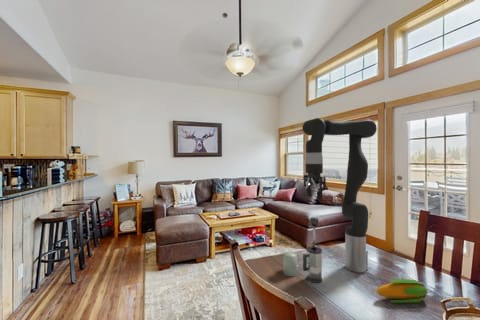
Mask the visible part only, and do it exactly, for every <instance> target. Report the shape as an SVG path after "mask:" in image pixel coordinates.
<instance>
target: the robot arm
mask: <svg viewBox="0 0 480 320" xmlns="http://www.w3.org/2000/svg"><path fill="white" fill-rule="evenodd" d="M301 128H302V131H303V133H304V134H305V135H307V136H311V137H310V139H308V140H307V141H306V142H305V158H304V159H305V167H304V169H305V173H306V174H303V187H305V190H306V197H307V198H311V197H312V195H313V194H312V193H313V191H312V188H313V187H314V188H315V189H316V200H318V201H322V200H323V192H324V191H326V190H327V184H326V180H327V178H326V176H321V174H323V172H324V171H323V170H324V169H323V167H324V166H323V165H324V163H323V161H324V159H323V158H324V157H323V142H324V139H325V136H344V135H346V136H347V135H348V140H349V141H348V162H347V170H346V182H345V190H344V196H343V199H342V205H341V214H342V216H343V217H344V218H346V219H348V220H351V221H352V224H351V225H349V226H346V227H345V230H344V233H345V238H344V239H345V241H344V242H345V249H344V250H345V254H344V255H345V256H344V257H345V260H344V261H345V263H344V264H345V265H344V266H345V268H346V269H347V270H349V271H351V272H354V273H360V274H361V273H365V272H366V271H368V268H369V267H368V265H369V264H368V263H369V261H368V260H369V256H368V254H369V253H368V250H367V232H368V227H369V210H368V207H367V206H366V205H365V204H364V203H361V202H357V197H358V192H359V191H360V189H361V188H362V186H363V185H364V183H365V182H366V180H367V177H368V172H369V170H368V169H369V162H368V159H367V158H366V156H365V155H364V152H363V149H362V139H367V138H371V137H373V136H374V135H376V134H377V124H376V122H375V121H374V120H371V119H369V118H368V119H362V120H361V119H360V120H356V121H354V120H353V121H347V120H333V119H331V120H330V119H327V120H324V119H323V118H320V117H316V118H313V119H308V120H306V121H305V122H304V123H303V124H302V127H301Z"/></svg>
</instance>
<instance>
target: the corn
mask: <svg viewBox="0 0 480 320" xmlns="http://www.w3.org/2000/svg"><path fill="white" fill-rule="evenodd" d="M375 292H376V293H377V294H378V295H379V296H382V297H384V298H388V299H391V300H389V303H393V304H394V303H395V304H409V303H411V304H412V303H420V302H422V301H424V300H425V299H426V297H427V294H428V290H427V288H426V286H425V285H424V284H422V283H421V282H419V281H418V280H415V279H409V278H408V279H407V278H406V279H404V278H398V279H393V280H390V281H389V283H388V284H387V283H386V284H384V285H381V286H379V287H378V288H377V290H376V291H375Z"/></svg>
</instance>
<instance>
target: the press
mask: <svg viewBox="0 0 480 320" xmlns="http://www.w3.org/2000/svg"><path fill="white" fill-rule="evenodd" d="M305 251H306V252H305V253H303V254H302V270H303V271H304V272H306V280H307V281H308V282H310V283H312V284H315V285H316V284H322V283H323V278H322V276H323V273H322V272H323V270H322V269H323V268H322V267H323V249H322V248H321V247H320V246H316V245H315V249H313V245H310V246H309V245H308V246H307V247H306V249H305Z"/></svg>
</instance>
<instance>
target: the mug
mask: <svg viewBox="0 0 480 320" xmlns="http://www.w3.org/2000/svg"><path fill="white" fill-rule="evenodd" d="M283 274H284V275H285V276H286V277H291V276H293V277H295V276H297V275H298V254H297V253H296V252H293V251H285V252H284V253H283Z"/></svg>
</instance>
